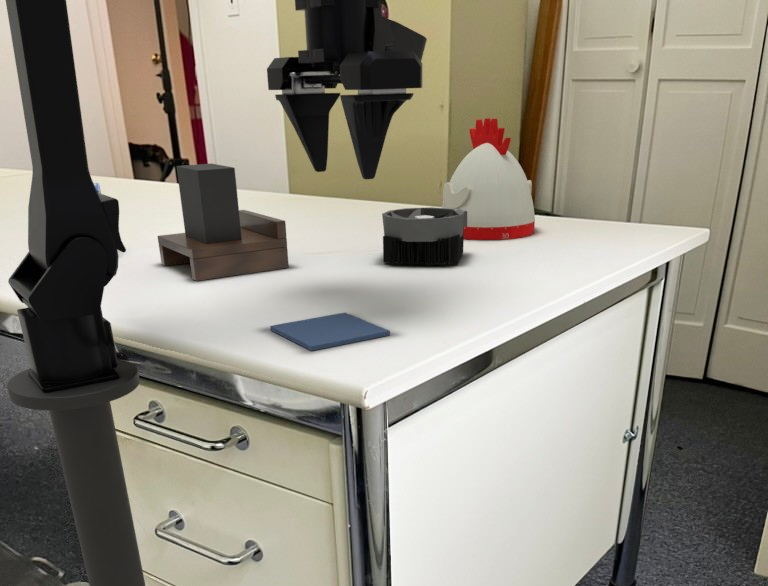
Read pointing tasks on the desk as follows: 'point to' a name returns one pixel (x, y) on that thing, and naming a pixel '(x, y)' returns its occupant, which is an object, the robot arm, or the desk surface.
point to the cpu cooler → (423, 235)
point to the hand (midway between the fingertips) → (343, 175)
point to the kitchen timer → (491, 188)
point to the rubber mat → (329, 331)
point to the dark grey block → (209, 202)
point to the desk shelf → (231, 249)
